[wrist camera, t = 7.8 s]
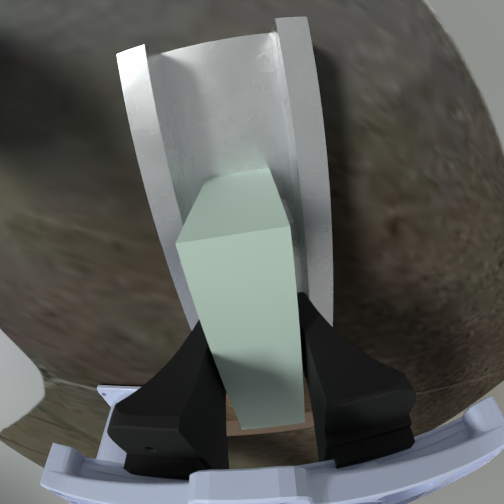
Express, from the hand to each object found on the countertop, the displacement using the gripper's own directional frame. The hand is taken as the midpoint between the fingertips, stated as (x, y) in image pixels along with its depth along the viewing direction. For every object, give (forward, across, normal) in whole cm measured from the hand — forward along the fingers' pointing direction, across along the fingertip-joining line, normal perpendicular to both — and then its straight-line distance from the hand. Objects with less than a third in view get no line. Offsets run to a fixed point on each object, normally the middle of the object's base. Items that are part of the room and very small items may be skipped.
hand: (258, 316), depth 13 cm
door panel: (+4, 0, -1) cm, 4 cm away
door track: (+4, 0, -2) cm, 5 cm away
